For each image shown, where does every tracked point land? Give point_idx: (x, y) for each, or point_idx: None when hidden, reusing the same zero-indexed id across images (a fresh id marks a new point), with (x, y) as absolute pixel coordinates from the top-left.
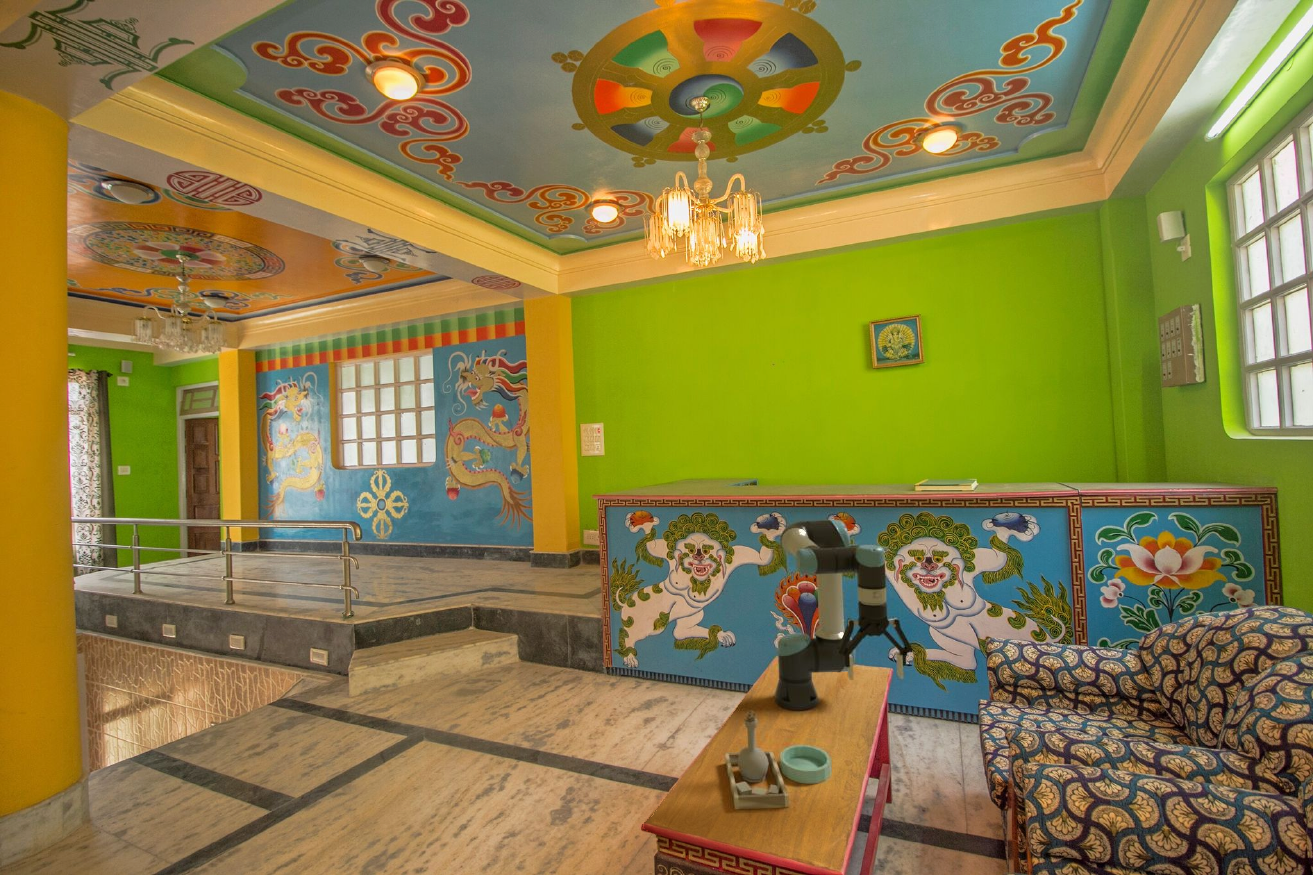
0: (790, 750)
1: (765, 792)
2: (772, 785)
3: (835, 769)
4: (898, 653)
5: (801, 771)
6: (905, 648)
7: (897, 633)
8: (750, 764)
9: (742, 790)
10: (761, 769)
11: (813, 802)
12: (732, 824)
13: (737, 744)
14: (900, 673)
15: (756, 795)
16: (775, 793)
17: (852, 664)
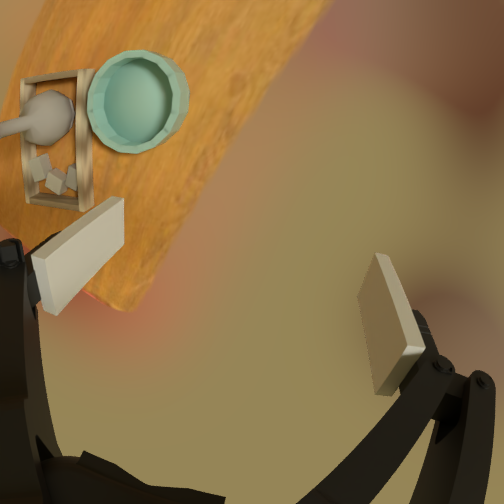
0: (115, 64)
1: (60, 188)
2: (70, 169)
3: (198, 106)
4: (398, 369)
5: (112, 147)
6: (437, 415)
7: (443, 498)
8: (34, 143)
9: (35, 179)
10: (53, 142)
11: (129, 200)
12: (35, 225)
13: (59, 14)
14: (361, 313)
15: (47, 202)
16: (73, 189)
17: (80, 286)
